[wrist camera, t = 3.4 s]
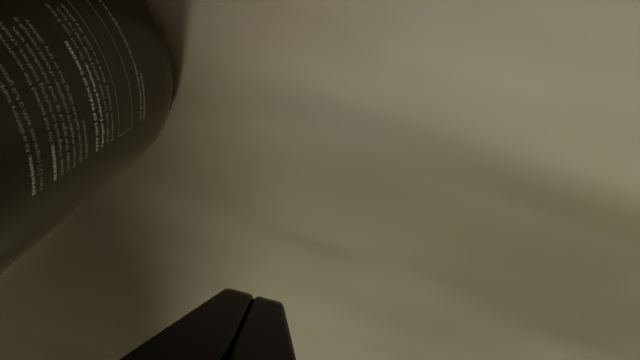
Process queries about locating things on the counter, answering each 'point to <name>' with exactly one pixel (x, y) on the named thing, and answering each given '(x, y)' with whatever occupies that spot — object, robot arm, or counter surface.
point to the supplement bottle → (73, 107)
